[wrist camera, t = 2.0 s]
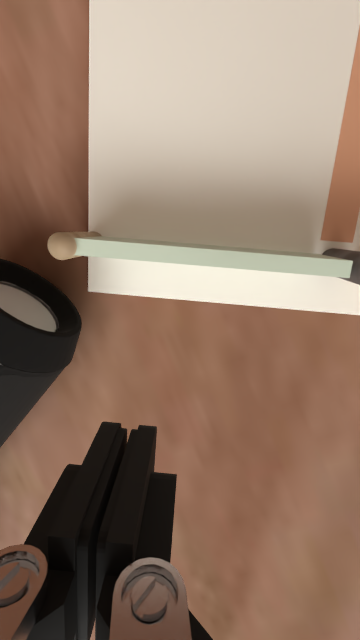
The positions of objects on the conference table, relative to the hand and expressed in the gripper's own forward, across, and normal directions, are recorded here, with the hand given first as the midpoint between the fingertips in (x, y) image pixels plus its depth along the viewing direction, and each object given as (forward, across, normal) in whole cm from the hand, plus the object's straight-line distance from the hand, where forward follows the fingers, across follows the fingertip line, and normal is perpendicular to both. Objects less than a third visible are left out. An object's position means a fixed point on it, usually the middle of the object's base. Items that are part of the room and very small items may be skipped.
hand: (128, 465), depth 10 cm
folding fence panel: (+17, -2, -6) cm, 18 cm away
